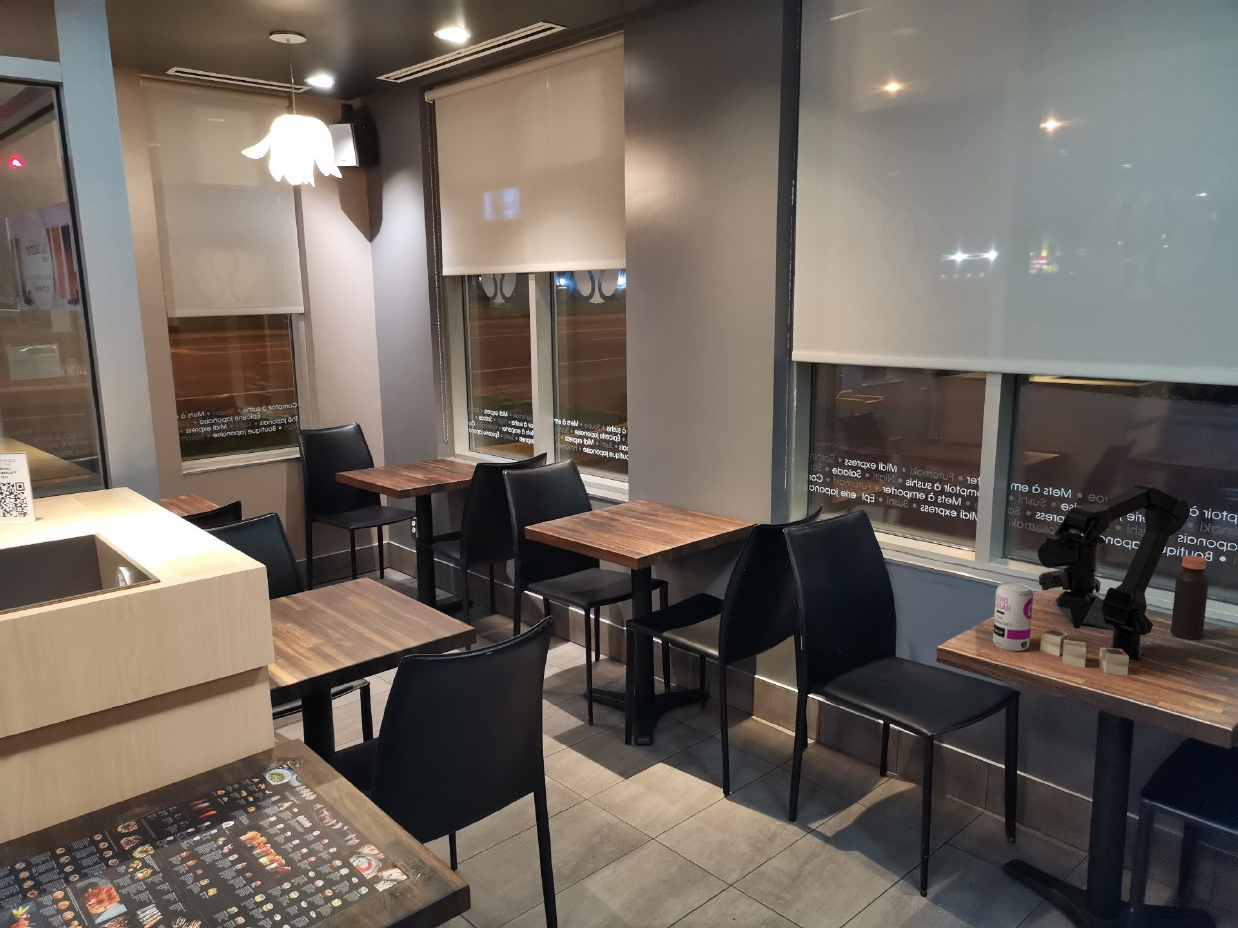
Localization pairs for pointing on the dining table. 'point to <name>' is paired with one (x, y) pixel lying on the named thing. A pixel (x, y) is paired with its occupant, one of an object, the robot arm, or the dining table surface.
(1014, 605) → the supplement can
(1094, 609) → the dark slate chunk
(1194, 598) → the bottle
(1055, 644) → the labelled block
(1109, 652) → the labelled block
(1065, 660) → the plain block
